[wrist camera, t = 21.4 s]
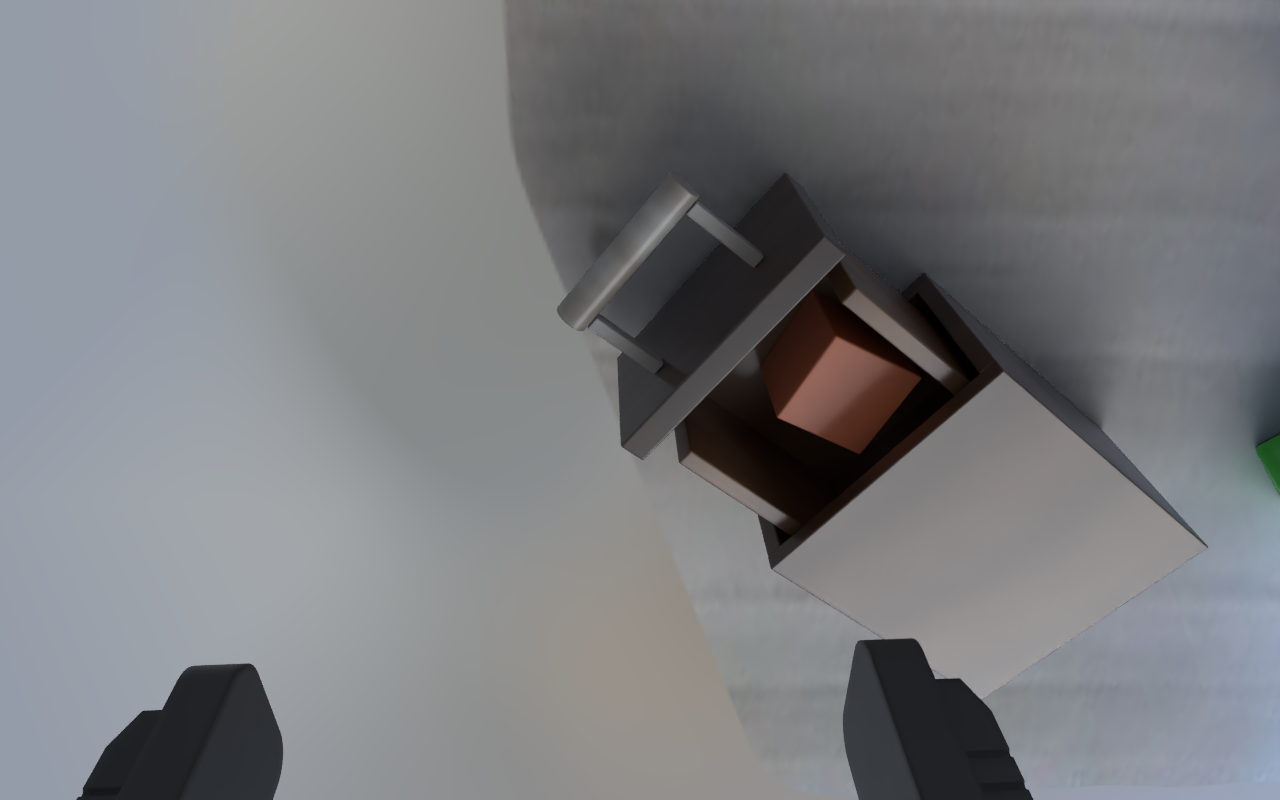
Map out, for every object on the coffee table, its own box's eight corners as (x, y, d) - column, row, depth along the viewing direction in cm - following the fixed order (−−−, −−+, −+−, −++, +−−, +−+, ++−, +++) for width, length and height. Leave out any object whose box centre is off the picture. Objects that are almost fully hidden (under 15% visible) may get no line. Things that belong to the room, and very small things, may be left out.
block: (776, 418, 35) (860, 455, 37) (836, 335, 33) (923, 377, 35) (759, 366, 39) (836, 402, 40) (812, 288, 37) (891, 329, 38)
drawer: (531, 299, 38) (518, 382, 32) (697, 95, 34) (720, 145, 27) (814, 494, 45) (849, 593, 38) (984, 345, 40) (1054, 430, 34)
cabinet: (740, 447, 44) (770, 569, 36) (923, 272, 39) (1003, 369, 31) (921, 571, 49) (981, 700, 42) (1103, 430, 44) (1209, 547, 37)
